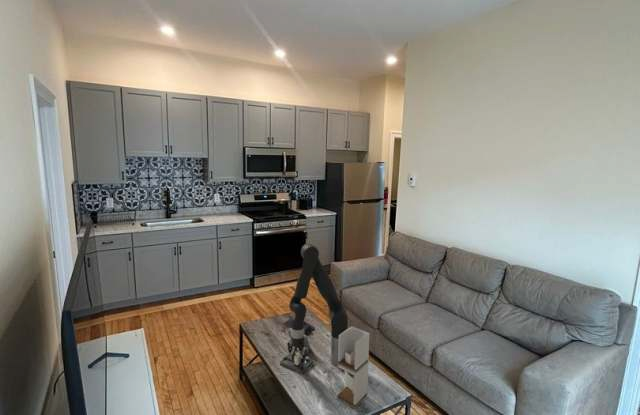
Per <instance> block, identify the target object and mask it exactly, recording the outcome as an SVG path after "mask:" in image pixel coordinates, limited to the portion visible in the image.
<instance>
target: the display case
mask: <svg viewBox="0 0 640 415" xmlns="http://www.w3.org/2000/svg"><path fill="white" fill-rule="evenodd" d="M369 354H370V332H367V331H365V330H363V329H360V328H359V327H358V328H357V327H355V326H352V325H351V326H349V327H348V329H347V330H345V331H344V332H343V333H341V334H340V335H339V338H338V366H337V368H339V369H341V370H343V371H344V382H345V385H346V386H345V387H344V388H343V390H341V391H340V392H339V393H338V394H337V398H336V399H337V400H339V401H341V402H342V403H344V404H346V405H347V406H349V407H350V408H352V409H357V408H358V406H359V405H360V404H362V402H363V401H364V400H365V399H366V398H367V397H368V386H369V384H368V383H369V381H368V380H369V357H370V355H369Z"/></svg>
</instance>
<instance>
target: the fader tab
mask: <svg viewBox="0 0 640 415" xmlns="http://www.w3.org/2000/svg"><path fill="white" fill-rule="evenodd" d="M300 363H301V357H300V355H299V353H297V354H296V355H295V356H294V364H295V365H299V364H300Z"/></svg>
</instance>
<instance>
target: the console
mask: <svg viewBox="0 0 640 415" xmlns="http://www.w3.org/2000/svg"><path fill="white" fill-rule="evenodd" d="M297 353H298V352H297V351H295V355H296V354H297ZM314 363H315V359H314V358H311V357H310V356H309V355H308V356H307V357H306V358H305V359H304V363H303V364H301V363H300V364H299V365H295V364H294V361H293V360H292V354H291V353H288V354H287V355H284V356H283V357H282V359H281V360H280V361H279V365H281V366H282V367H284V368H286V369H290V370H292V371H294V372H296V373H299V374H301V375H304V373H306V372H307V371H308V370H309V368H311V366H313V365H314Z"/></svg>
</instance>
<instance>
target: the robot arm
mask: <svg viewBox="0 0 640 415" xmlns="http://www.w3.org/2000/svg"><path fill="white" fill-rule="evenodd" d="M300 255H301V257H302V259H303V262H302V267H301V268H302V269H301V272H300V274H299V276H298V279H297V281H296V285H295V291H294V293H293V295H292V297H291V299H290V302H289V310H290V312H293V314H294V316H293V318H292V317H291V318H292V329H291V338H290V339H291V341H290V340H289V341H288V342H287V343H286V345H287V351H288V354H290V353H291V354H292V360H293V361H294V356H295V353H296V352H298V353H299V355H300V357H301V364H303V363H304V359H305V358H306V357H307V356H309V350H310V349H309V348H306V347H305V346H304V335H305V334H304V321H305V317H306V314H307V306H306V305H305V303H303V302H302V299H303V300H304V299H306V298H307V295H308V292H309V288H310V283H311V279H313V282H314V284H315V286H316V288H317V290H318V293H319V294H320V295H321V297H322V298H323V299H324V301H325V302H326V303H327V307H328V309H329V312H330V317H331V331H330V362H331V364H332V365H334V366H337V367H338V338H339V335H340V334H341V333H343V332H344V331H345V330H347V329H348V328H349V326H348V325H349V316H348V313H347V311H346V309H345V307H344V305H343V304H342V302H341V301H340V299H339V296H338V293H337V291H336V290H337V289H336V288H335V285H334V283H333V281H332V278H331V276H330V275H329V272H327V270H326V269H325V267H324V266H323V265H322V264H323V263H322V262H321V260H320V251H319V249H318V248H317V247H316V246H315V245H313V244H312V243H305V244H304V245H302V246H301V249H300ZM292 347H293V348H292Z"/></svg>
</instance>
